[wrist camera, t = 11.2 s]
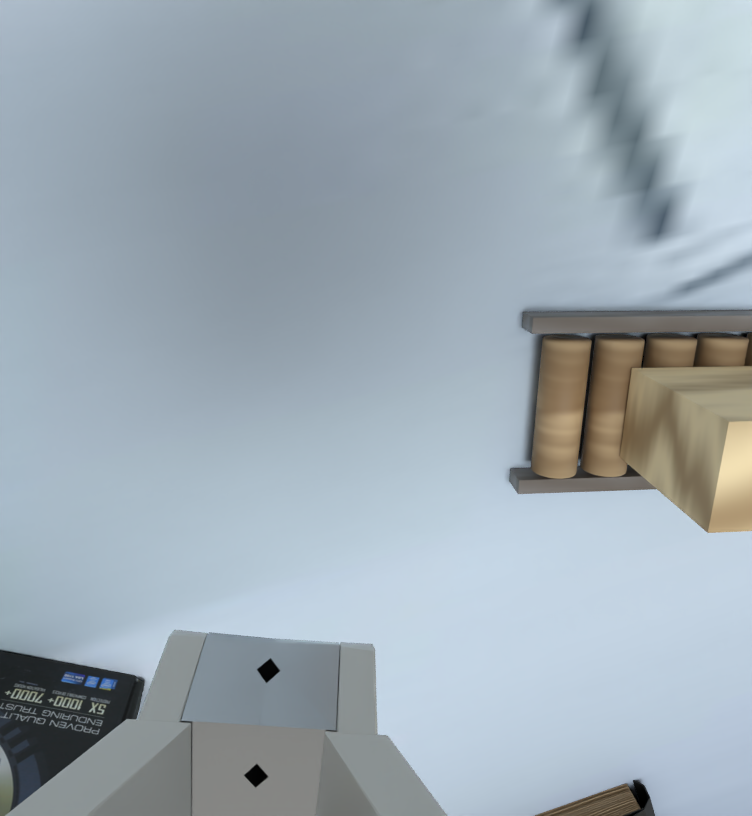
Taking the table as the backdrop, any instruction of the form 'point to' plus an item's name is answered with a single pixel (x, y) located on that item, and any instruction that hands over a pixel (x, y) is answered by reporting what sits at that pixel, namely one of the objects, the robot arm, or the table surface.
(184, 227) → the table surface
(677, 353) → the roller bed
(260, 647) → the robot arm
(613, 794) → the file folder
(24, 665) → the box
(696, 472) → the block
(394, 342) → the table surface
